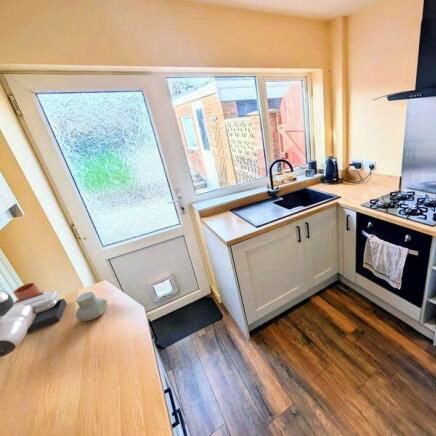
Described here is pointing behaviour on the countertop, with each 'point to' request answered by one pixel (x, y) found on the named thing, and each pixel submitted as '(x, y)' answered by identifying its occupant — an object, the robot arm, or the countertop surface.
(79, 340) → the countertop surface
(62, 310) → the tray
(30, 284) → the tumbler
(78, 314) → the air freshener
